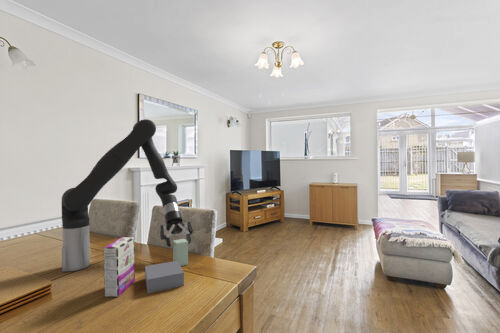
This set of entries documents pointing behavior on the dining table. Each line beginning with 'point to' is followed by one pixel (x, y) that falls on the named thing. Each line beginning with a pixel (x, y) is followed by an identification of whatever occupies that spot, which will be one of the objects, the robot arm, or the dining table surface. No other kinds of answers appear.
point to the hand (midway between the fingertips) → (179, 244)
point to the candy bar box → (119, 266)
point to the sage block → (180, 251)
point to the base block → (163, 276)
